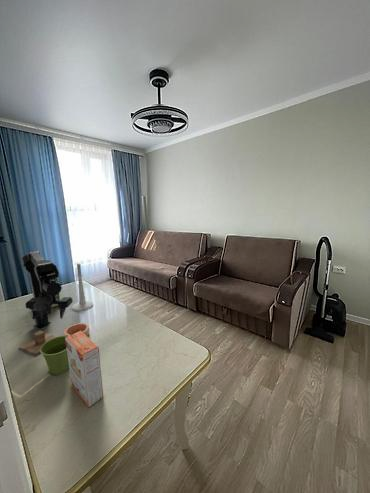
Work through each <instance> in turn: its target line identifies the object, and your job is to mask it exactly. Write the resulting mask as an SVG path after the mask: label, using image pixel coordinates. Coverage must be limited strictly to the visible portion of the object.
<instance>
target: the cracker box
mask: <svg viewBox="0 0 370 493" xmlns="http://www.w3.org/2000/svg"><path fill="white" fill-rule="evenodd" d="M65 340H66V348H67V355H68V362H69V368H68V369H69V375H70V382H71V383H70V384H71V386H72V387H73V389H74V390H75V392H76V393H77V395H79V397H80V398H81V399H82V401H83V403H84V404H85V405H86V407H87V409H89V408H91V407H92V406H94V405H95V404H96V403H97V402H98V401H100V400H101V399H102V398H103V397H104V389H103V388H104V387H103V377H102V367H101V357H100V347H99V346H98V344H96V343H95V342H94V341H93V340H92V339H91V338H89V337H88V336H86V335H85V334H84V333H83V332H82V331H79V332H77V333H74V334H72V335H70V336H68V337H66V338H65Z"/></svg>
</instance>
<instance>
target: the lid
mask: <svg viewBox="0 0 370 493" xmlns="http://www.w3.org/2000/svg"><path fill="white" fill-rule="evenodd" d="M33 337H34V338H32V339H30V340H28V341H27V342H25V343H22V344H21V345H20V346H18V348H19V349H22V350H24V351H26V352H29V353H31V354H34V355H38V354H39V353H40V348H41V346H42V345H43V344H44V343H45V342H47V341H48V340H50V339H52V338H55V337H57V336H56V335H54V334H50V333H47V332H45V331H42V330H39V331H36V332H35V333H33ZM19 349H18V350H19ZM26 352H25V353H26ZM31 354H30V355H31ZM39 355H40V354H39ZM39 355H38V356H39Z"/></svg>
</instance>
